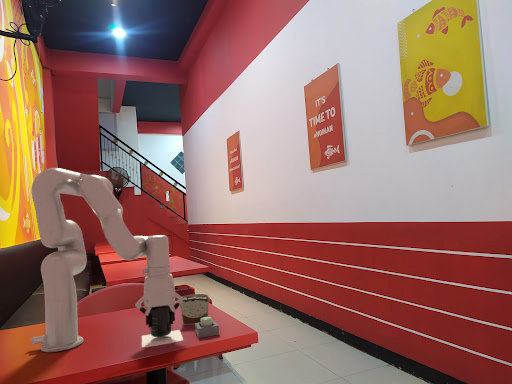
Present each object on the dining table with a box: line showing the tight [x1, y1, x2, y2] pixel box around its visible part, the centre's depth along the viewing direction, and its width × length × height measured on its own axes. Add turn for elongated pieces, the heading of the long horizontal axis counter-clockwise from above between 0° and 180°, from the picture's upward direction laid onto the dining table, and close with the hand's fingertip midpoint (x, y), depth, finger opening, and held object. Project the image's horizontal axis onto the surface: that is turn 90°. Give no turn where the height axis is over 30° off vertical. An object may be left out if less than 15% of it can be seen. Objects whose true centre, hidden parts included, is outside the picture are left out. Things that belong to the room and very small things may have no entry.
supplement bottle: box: [149, 305, 172, 337], centre depth 122 cm, size 7×7×12 cm
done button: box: [200, 316, 213, 327], centre depth 125 cm, size 4×4×3 cm
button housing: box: [194, 319, 220, 339], centre depth 124 cm, size 7×7×3 cm
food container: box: [179, 293, 211, 326], centre depth 140 cm, size 12×6×10 cm, turn 84°
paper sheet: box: [141, 329, 184, 349], centre depth 122 cm, size 13×12×1 cm
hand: (160, 324), depth 122 cm, fingers closed on supplement bottle, 6 cm apart
